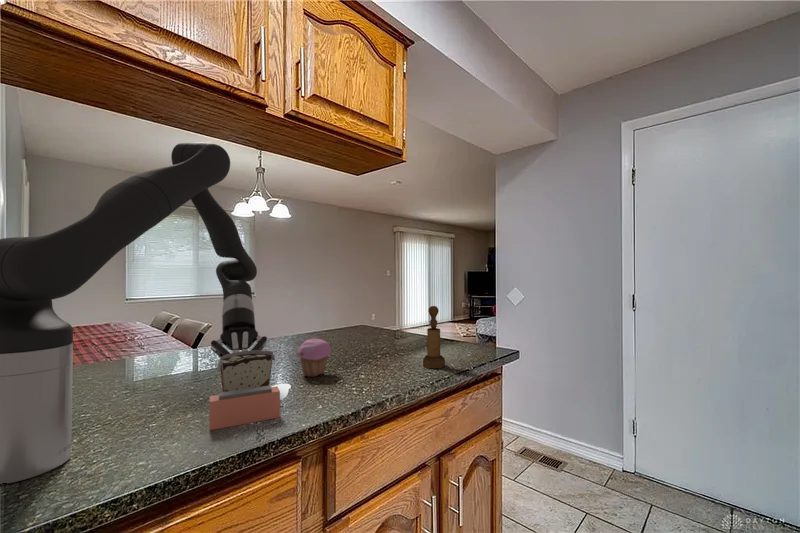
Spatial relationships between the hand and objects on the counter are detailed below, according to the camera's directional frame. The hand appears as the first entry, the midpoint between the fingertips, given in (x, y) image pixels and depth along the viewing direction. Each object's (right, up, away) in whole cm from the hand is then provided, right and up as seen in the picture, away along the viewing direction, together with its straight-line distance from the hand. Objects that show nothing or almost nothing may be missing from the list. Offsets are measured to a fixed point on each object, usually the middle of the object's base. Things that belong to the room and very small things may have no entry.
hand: (241, 375), depth 79 cm
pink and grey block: (+7, -4, -13) cm, 15 cm away
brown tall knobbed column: (+46, -5, +26) cm, 53 cm away
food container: (+1, -5, -2) cm, 5 cm away
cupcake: (+13, -5, +17) cm, 22 cm away
